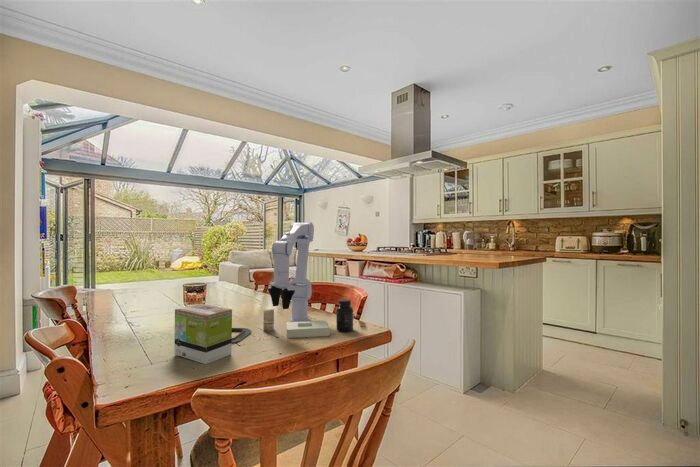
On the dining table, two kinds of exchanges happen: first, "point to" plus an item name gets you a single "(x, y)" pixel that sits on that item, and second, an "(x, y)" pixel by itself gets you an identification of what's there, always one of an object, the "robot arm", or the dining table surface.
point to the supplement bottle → (344, 316)
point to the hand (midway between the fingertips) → (280, 307)
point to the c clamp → (240, 336)
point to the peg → (268, 320)
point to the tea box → (203, 333)
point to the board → (307, 329)
